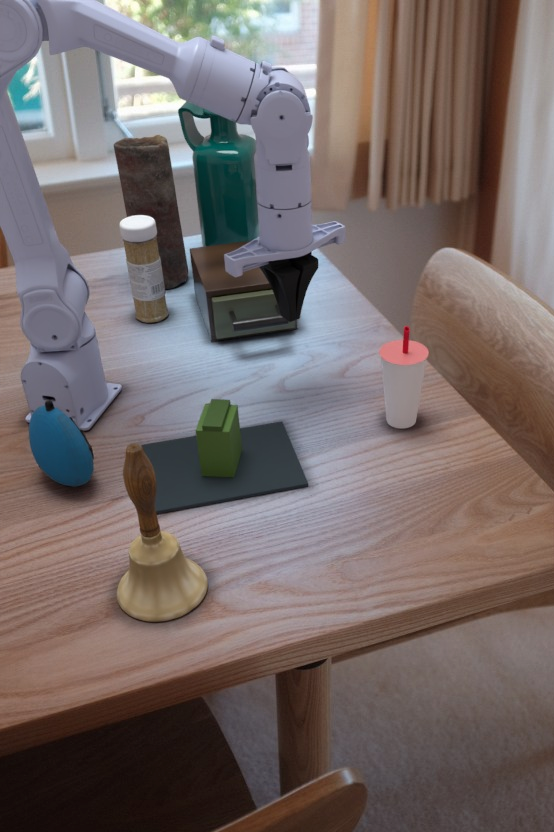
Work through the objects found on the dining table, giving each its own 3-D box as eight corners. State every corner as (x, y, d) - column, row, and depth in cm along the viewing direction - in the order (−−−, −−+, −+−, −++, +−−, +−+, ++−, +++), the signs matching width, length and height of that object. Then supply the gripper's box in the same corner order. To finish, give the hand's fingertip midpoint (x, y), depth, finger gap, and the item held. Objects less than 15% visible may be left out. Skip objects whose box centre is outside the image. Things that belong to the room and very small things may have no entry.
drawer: (302, 343, 116) (301, 305, 113) (222, 355, 114) (218, 317, 110) (274, 286, 128) (272, 251, 125) (201, 296, 126) (197, 260, 123)
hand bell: (100, 611, 81) (63, 469, 71) (142, 551, 87) (114, 412, 77) (185, 631, 79) (159, 488, 69) (222, 568, 85) (203, 428, 75)
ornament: (112, 483, 95) (95, 403, 89) (78, 506, 93) (58, 425, 86) (61, 455, 99) (41, 377, 93) (27, 476, 96) (3, 396, 90)
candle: (127, 286, 131) (102, 144, 118) (150, 265, 136) (128, 127, 123) (176, 293, 129) (156, 149, 116) (197, 271, 134) (180, 131, 122)
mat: (308, 486, 95) (308, 483, 94) (155, 514, 91) (154, 511, 91) (282, 424, 104) (282, 421, 103) (141, 447, 100) (141, 444, 100)
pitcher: (267, 245, 141) (258, 95, 127) (256, 268, 135) (244, 113, 121) (206, 242, 142) (190, 93, 128) (192, 265, 136) (173, 111, 122)
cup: (427, 432, 102) (433, 337, 94) (379, 434, 102) (381, 339, 94) (421, 406, 106) (426, 313, 98) (376, 408, 106) (377, 315, 98)
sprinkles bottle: (158, 305, 126) (143, 210, 118) (175, 317, 124) (161, 221, 115) (129, 315, 124) (112, 219, 115) (145, 327, 121) (129, 230, 113)
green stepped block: (234, 477, 95) (228, 426, 91) (201, 476, 96) (194, 425, 91) (242, 450, 99) (237, 399, 95) (210, 448, 99) (204, 398, 95)
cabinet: (297, 329, 121) (295, 279, 116) (211, 341, 118) (205, 291, 114) (275, 285, 131) (272, 237, 126) (195, 296, 128) (189, 248, 124)
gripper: (318, 173, 101) (321, 286, 109) (204, 204, 94) (217, 322, 103) (357, 192, 96) (356, 308, 105) (240, 225, 90) (250, 347, 98)
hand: (290, 317), depth 104 cm, fingers closed
